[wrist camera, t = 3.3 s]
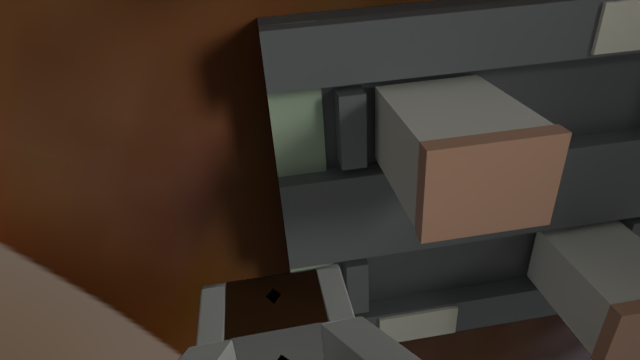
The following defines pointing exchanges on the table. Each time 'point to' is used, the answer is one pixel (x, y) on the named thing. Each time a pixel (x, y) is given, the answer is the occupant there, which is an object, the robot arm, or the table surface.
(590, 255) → the tab
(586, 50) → the switch bank
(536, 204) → the tab
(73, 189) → the table surface
